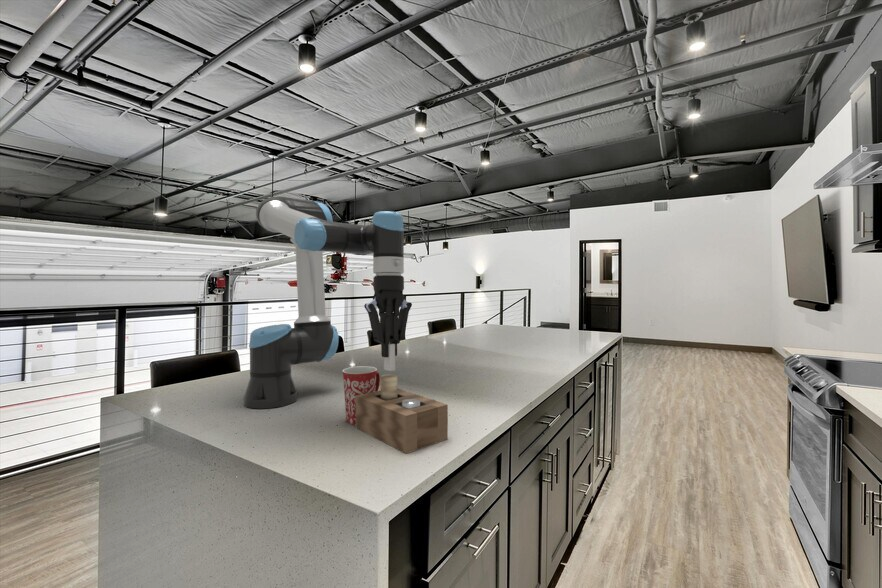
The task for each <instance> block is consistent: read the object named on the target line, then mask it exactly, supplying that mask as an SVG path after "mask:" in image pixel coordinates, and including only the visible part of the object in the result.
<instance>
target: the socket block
mask: <svg viewBox="0 0 882 588" xmlns="http://www.w3.org/2000/svg"><path fill="white" fill-rule="evenodd" d="M397 390H398V398H394V399H389V400H385V399H382V398H381V390H378V391H376V392H371V393H366V394H361V395H356V424H355V428H356V429H358V430H359V431H361V432H363V433H366V435H367V434H368V435H369V436H372V437H373V438H375V439H377V440H379V441H381V442H382V443H384V444H386V445H389V446H390V447H392V448H394V449H396V450H398V451H400V452H401V453H404V454H410V453H412V452H415V451H417V450H421V449H423V448H426V447H429V446H432V445H435V444H437V443H441V442H443V441H446V440H448V439H449V437H448V434H449V432H448V431H449V430H448V428H449V426H448V417H449V416H448V413H449V412H448V411H449V409H448V406H449V405H448V403H443V402H441V401H437V400H434V399H432V398H429V397H425V396H423V395H419V394H416V393H412V392H410V391H406V390H404V389H401V388H398V387H397ZM405 399H418V400H420V406H417V407H414V408H410V409H409V408H406V407H403V406H402V401H403V400H405Z"/></svg>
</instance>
